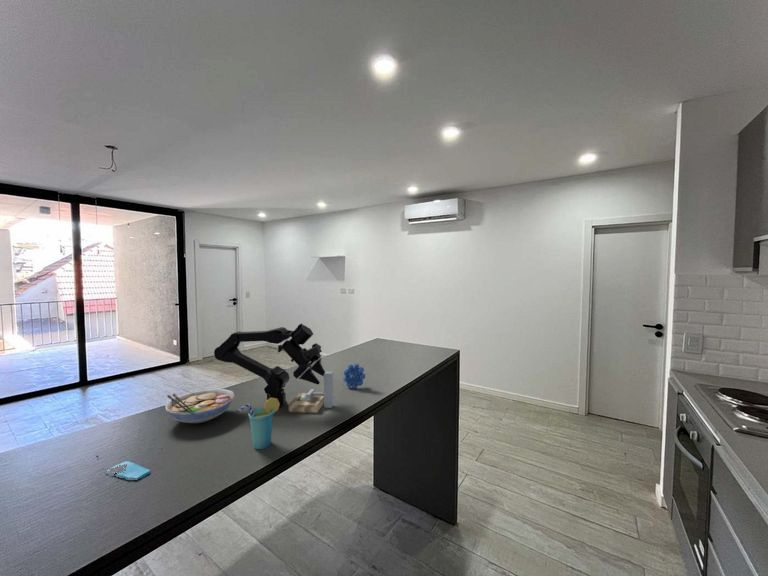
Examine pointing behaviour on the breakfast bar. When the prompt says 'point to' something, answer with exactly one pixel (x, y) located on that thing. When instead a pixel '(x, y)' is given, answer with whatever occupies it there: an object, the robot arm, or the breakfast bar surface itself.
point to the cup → (262, 422)
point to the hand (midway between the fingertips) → (322, 379)
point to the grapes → (354, 376)
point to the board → (306, 404)
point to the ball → (303, 398)
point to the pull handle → (327, 391)
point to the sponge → (132, 470)
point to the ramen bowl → (199, 405)
